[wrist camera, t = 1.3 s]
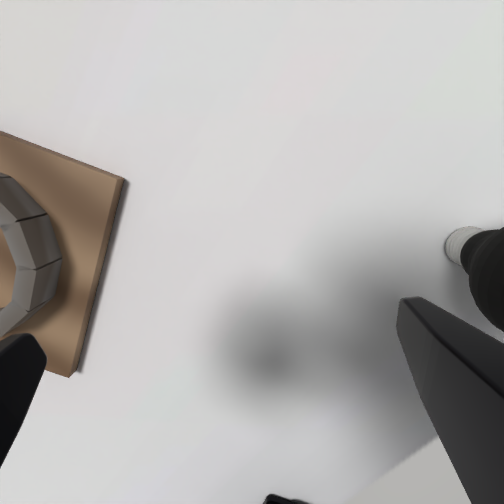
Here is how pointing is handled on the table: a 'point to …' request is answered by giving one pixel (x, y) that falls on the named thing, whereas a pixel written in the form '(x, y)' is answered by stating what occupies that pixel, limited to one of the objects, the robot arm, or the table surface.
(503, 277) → the light bulb
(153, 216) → the table surface
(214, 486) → the table surface
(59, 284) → the collar plate
